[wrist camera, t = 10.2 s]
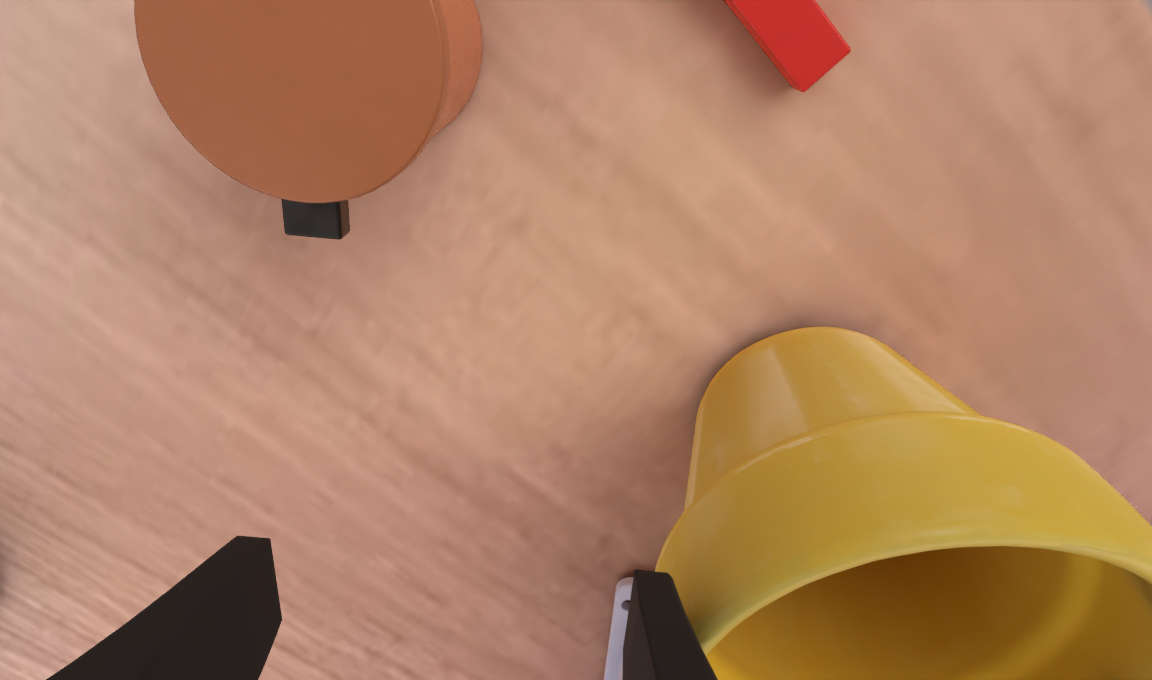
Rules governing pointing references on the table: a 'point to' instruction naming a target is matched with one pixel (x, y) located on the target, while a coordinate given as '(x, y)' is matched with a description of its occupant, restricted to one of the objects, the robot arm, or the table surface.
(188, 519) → the table surface
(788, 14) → the red spoon
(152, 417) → the table surface
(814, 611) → the flower pot
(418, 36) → the copper pot
